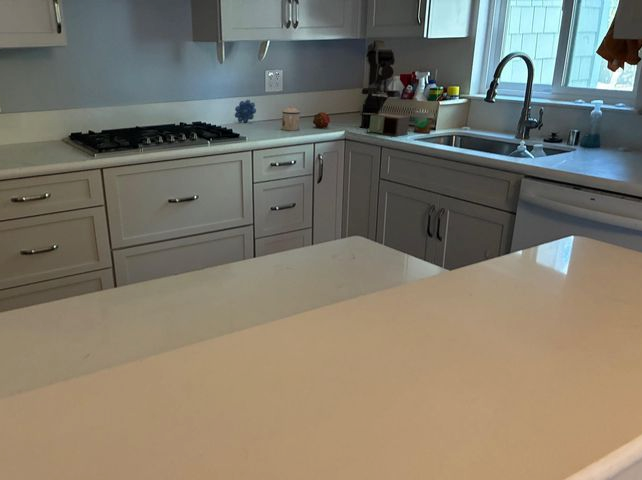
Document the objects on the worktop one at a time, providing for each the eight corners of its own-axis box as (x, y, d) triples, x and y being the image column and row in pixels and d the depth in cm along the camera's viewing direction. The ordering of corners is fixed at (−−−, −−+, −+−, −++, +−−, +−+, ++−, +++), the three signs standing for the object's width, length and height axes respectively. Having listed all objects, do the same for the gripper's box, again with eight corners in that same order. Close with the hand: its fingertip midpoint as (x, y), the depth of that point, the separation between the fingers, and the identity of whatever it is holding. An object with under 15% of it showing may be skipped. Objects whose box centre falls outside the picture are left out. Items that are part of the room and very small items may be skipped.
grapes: (256, 122, 336) (257, 99, 332) (255, 123, 330) (255, 100, 325) (235, 121, 337) (235, 98, 333) (233, 122, 331) (234, 99, 326)
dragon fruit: (318, 132, 318) (320, 132, 330) (332, 122, 316) (333, 123, 327) (309, 118, 317) (311, 118, 329) (323, 108, 315) (325, 109, 326)
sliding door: (366, 131, 309) (367, 115, 306) (370, 131, 311) (371, 115, 308) (379, 133, 304) (380, 117, 301) (383, 133, 306) (384, 116, 303)
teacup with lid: (282, 127, 319) (283, 104, 314) (299, 128, 318) (300, 105, 314) (280, 131, 308) (281, 106, 303) (298, 131, 307) (299, 107, 303)
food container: (406, 131, 320) (408, 111, 316) (416, 130, 322) (418, 110, 318) (421, 134, 310) (424, 114, 306) (431, 134, 312) (434, 113, 308)
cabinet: (366, 132, 311) (368, 114, 307) (380, 130, 319) (382, 113, 315) (394, 136, 300) (396, 118, 297) (407, 134, 309) (409, 116, 305)
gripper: (356, 76, 296) (353, 110, 302) (389, 79, 284) (386, 114, 290) (369, 75, 303) (366, 108, 310) (402, 78, 291) (398, 112, 298)
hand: (378, 110), depth 302 cm, fingers closed
